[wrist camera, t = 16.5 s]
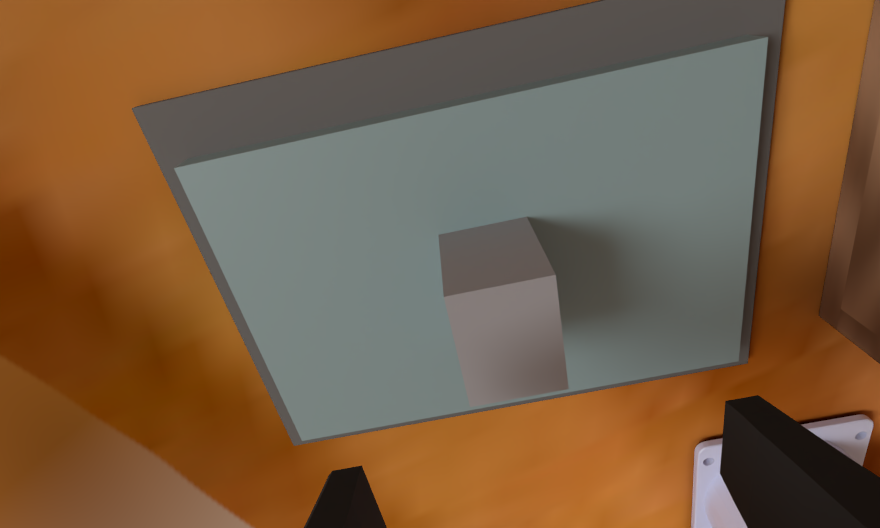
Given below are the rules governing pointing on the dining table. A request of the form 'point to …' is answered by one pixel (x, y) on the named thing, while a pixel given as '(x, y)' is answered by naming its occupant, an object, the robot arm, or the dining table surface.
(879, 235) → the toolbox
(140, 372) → the dining table surface
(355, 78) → the mat
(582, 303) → the lid
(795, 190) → the dining table surface
